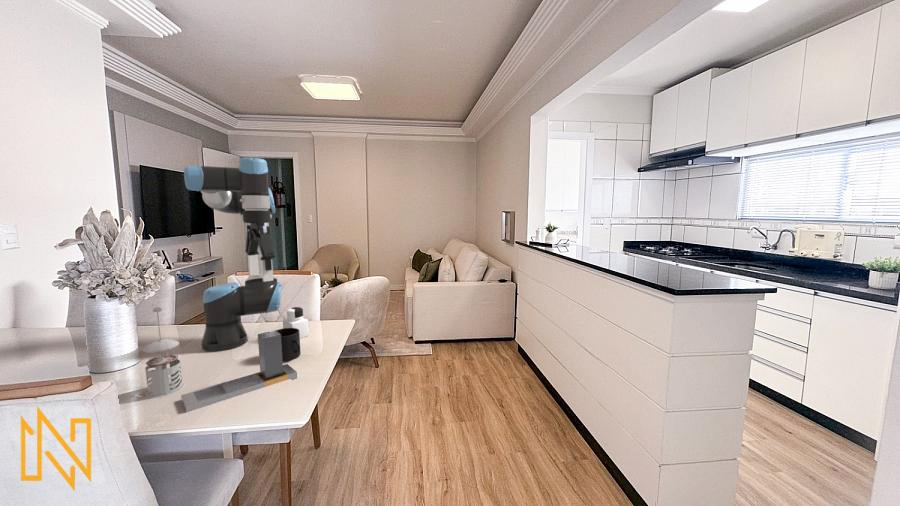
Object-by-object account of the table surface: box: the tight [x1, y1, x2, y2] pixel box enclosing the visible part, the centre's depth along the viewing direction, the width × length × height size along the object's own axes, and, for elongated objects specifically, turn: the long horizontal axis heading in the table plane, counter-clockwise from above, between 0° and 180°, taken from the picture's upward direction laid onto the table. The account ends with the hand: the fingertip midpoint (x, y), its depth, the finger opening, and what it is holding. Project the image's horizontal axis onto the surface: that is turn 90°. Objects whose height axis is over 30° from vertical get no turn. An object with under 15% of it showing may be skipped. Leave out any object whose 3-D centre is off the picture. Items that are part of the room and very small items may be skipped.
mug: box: [274, 327, 301, 363], centre depth 125 cm, size 9×12×9 cm
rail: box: [180, 363, 298, 413], centre depth 103 cm, size 8×28×2 cm, turn 134°
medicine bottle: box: [282, 306, 310, 339], centre depth 145 cm, size 7×7×12 cm
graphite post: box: [257, 329, 284, 381], centre depth 108 cm, size 5×5×14 cm
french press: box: [142, 306, 186, 399], centre depth 101 cm, size 10×12×25 cm
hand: (261, 277), depth 112 cm, fingers open, 13 cm apart
